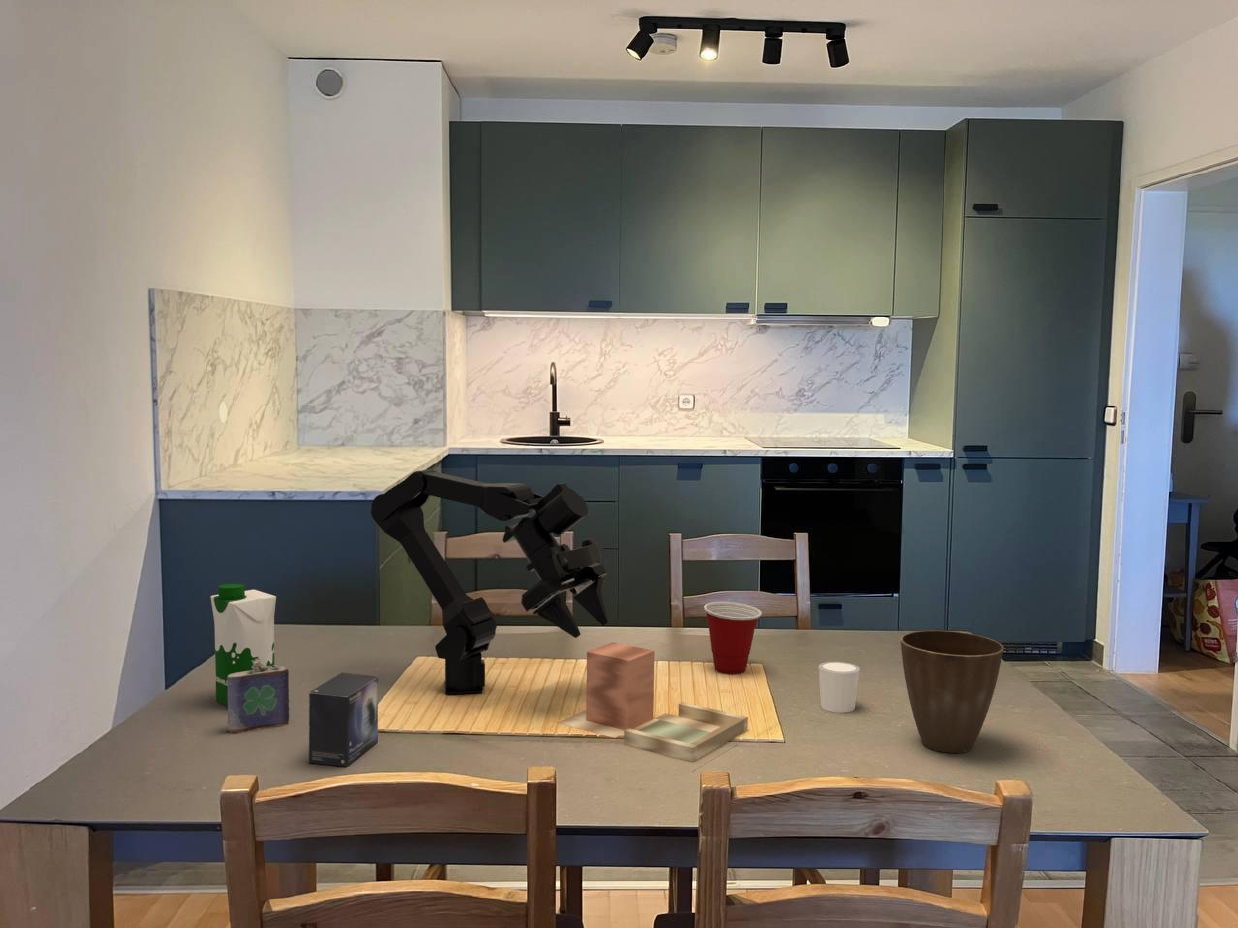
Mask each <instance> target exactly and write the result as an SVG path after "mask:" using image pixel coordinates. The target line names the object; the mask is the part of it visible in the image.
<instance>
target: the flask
mask: <svg viewBox="0 0 1238 928" xmlns="http://www.w3.org/2000/svg"><path fill="white" fill-rule="evenodd" d="M260 661H261V660H260V658H258V659H255V661H254V662H253V660H252V662H253V666H252V669H253V670H250V671H244V672H237V673H233V674H230V675H228V677H227V685H228V707H227V730H228V732H229V733H230V734H233V733H237V734H238V733H245V732H248V731H249V732H251V731H258V730H260V731H261V730H263V729H266V728H267V729H270V728H274V727H276V728H277V727H279V726H287V725H290V724H289V722H290V696H289V695H290V694H289V691H290V689H289V688H290V687H289V686H290V685H289V684H290V683H289V681H290V680H289V679H290V677H289V675H290V671H289V668H287V667H286V666H278V665H276V664H274V665H273V666H274V667H272V666H265V665H263V664H261V663H260ZM269 667H272V668H269Z"/></svg>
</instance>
